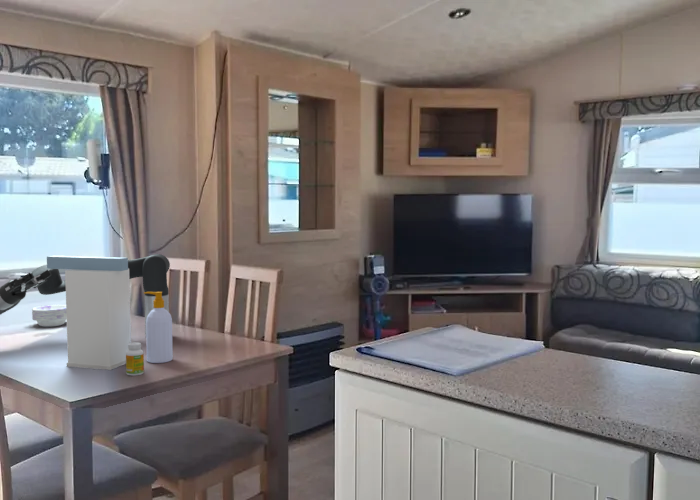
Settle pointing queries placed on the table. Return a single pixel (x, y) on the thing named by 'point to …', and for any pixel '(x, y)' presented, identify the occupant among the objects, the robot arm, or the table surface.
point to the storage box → (97, 318)
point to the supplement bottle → (134, 359)
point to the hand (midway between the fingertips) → (41, 273)
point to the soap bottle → (159, 332)
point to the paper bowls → (50, 315)
